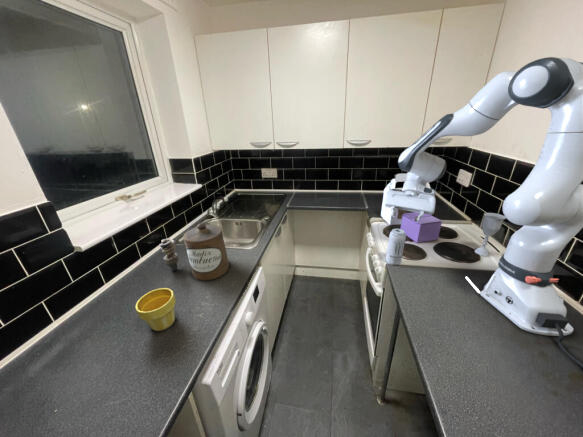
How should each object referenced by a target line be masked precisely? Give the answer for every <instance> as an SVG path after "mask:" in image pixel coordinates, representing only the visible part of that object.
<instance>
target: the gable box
mask: <svg viewBox="0 0 583 437" xmlns="http://www.w3.org/2000/svg"><path fill="white" fill-rule="evenodd" d="M407 173H408V172H406V173H405V172H404V173H396V174H394V178H392V179H390V181H389V183H388V184H387V185H386V186H385V188H384V189H383V196H382V204H381V211H380V217H382V219H383V220H384V221H385V222H386V223H387V224H388V225H390V226H393V225H395V226H396V225H401V222H402V217H403V214H405V213H413V212H412V211H406V210H401V209H395V210H393V211H394V212H396V216H395V217H391V215H392V211H391V208H389V207H386V206H385V204H384V201H385V199H386V196H387V192H388V190H390V189H401V190H402V189H403V187H397V186H396V185H397V183H399V182H401V183H402V182H403V183H405V181H406V179H407ZM396 187H397V188H396ZM426 187H428V188H431V189H432V187H431V184H430V182H427V183H426Z"/></svg>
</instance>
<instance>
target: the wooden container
mask: <svg viewBox="0 0 583 437" xmlns="http://www.w3.org/2000/svg"><path fill="white" fill-rule="evenodd" d="M182 237H183V242H184V245H185V249H186V253H187V257H188V261H189V266H190V269H191V272H192V276H193V277H194V278H195V279H197V280H199V281H210V280H214V279H217V278H220V277H222V276H223V275H224V274H226V273H227V271H228V270H229V267H230V265H229V259H228V253H227V248H226V244H225V239H224V234H223V230H222V228H221V226H219V225H216V224H206V223H204V222H198V224H197V225H196V226H195V227H193V228H192V227H191V228H190V229H188V230H187V231H185V232H184V234H183V236H182Z"/></svg>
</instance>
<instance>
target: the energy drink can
mask: <svg viewBox="0 0 583 437" xmlns="http://www.w3.org/2000/svg"><path fill="white" fill-rule="evenodd" d="M406 239H407V236H406V235H405V231H404V230H402V229H400V228H392V229H391V231H390V232H389V236H388V243H387V249H386V254H385V255H386V256H385V261H386V263H388V264H389V265H391V266H398V265H400V264H401V263H402V258H403V253H404V248H405V242H406Z"/></svg>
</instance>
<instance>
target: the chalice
mask: <svg viewBox="0 0 583 437" xmlns="http://www.w3.org/2000/svg"><path fill="white" fill-rule="evenodd" d="M483 216H484V217H483V221H482V223H481V229H482V232H483V235H484V236H485V237H484V238H483V242H482V246H478V247H477V248H476V249H474V253H475V254H477V255H479V256H483V257H488V256H489V255H490V254H489V249H488V248H487V247H486V246H487V245H488V241H489V237H492V236H494V235H495V234H496V233H497V232H499V230H501V227H502V225H503V223H504V221H505V220H506V219H507V218H506V217H505V215H504V214H500V213H495V212H485V213H483Z"/></svg>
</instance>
